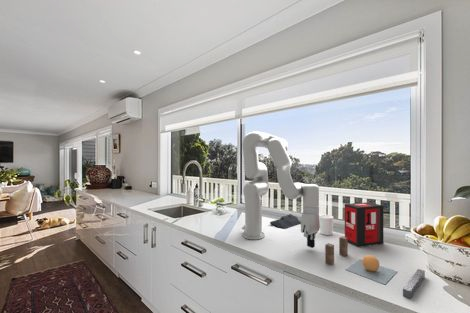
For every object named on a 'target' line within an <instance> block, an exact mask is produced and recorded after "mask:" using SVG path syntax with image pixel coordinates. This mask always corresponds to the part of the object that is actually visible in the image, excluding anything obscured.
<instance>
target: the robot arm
mask: <svg viewBox="0 0 470 313" xmlns="http://www.w3.org/2000/svg"><path fill="white" fill-rule="evenodd" d="M241 147H242V154H243V165H244V166H243V169H244V175H245V177H246V178H247V179H249V180H250V179H251V181H248V182H246V183H245V185H244V186H243V196H244V212H245V215H244V224H243V226H241V230H243V232H242V237H243V238H244V239H245V240H246V239H247V240H256V241H257V240H261V239H264V238H265V233H264V231H262V230H263V229H262V226H263V224H262V222H263V220H262V217H263V216H262V212H263V211H262V209H263V208H262V201H261V197H262V196H265V195H266V194H267V193H268V191H269V176H268V175H269V173H268V168H267V166H266V164H264V163H263V162H260V161H259V152H258V150H257V147H259V148H265V149H267V150H268V153H269V154H270V157H271V160H272V161H273V163H274V166H275V168H276V179H277V183H278V185H279V187H280V190H281V191H282V194H283V195H284V196H285V197H286V198H287V199H289V200H296V199H298V198H302V213H301V218H300V220H301V221H300V222H301V224H300V233H302V234H303V237H304V238H305V239H306V246H307V247H308V248H311V249H314V248H315V246H316V245H315V244H316V240H315V239H316V235H317V234H318V233H319V232H320V222H319V216H320V187H319V186H318V185H317V184H313V183H308V184H307V183H302V182H294V181H293V178H292V176H291V167H292V164H293V163H292V160H291V158H290V156H289V154H288V152H287V151H288V150H289V145H288V141H287V140H286V139H284V138H281V137H279V136H276V135H273V134H270V133H268V132H267V133H266V132H262V131H251V132H248V133H247V134H246V135H245V136H244V138H243V140H242V146H241Z"/></svg>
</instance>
